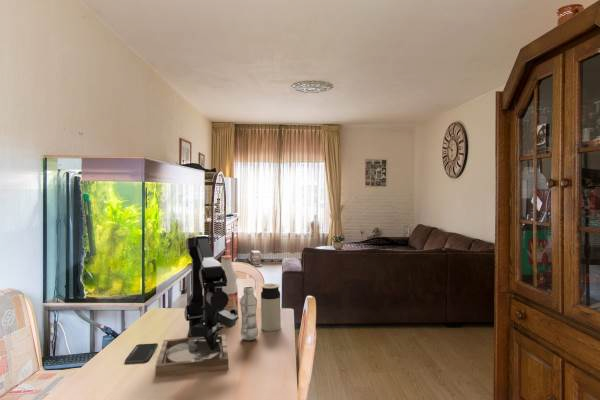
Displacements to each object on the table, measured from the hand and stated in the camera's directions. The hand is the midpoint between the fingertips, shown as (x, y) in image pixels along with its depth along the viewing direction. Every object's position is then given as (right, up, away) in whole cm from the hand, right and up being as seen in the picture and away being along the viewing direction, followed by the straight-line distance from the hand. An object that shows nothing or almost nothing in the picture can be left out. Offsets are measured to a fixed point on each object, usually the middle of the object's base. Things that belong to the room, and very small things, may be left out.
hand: (212, 350), depth 131 cm
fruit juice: (-4, -4, +46) cm, 47 cm away
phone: (-27, -5, +8) cm, 28 cm away
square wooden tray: (-7, -4, +3) cm, 9 cm away
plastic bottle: (+10, -4, +21) cm, 23 cm away
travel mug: (+17, -4, +33) cm, 37 cm away
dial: (-7, -3, +3) cm, 8 cm away
